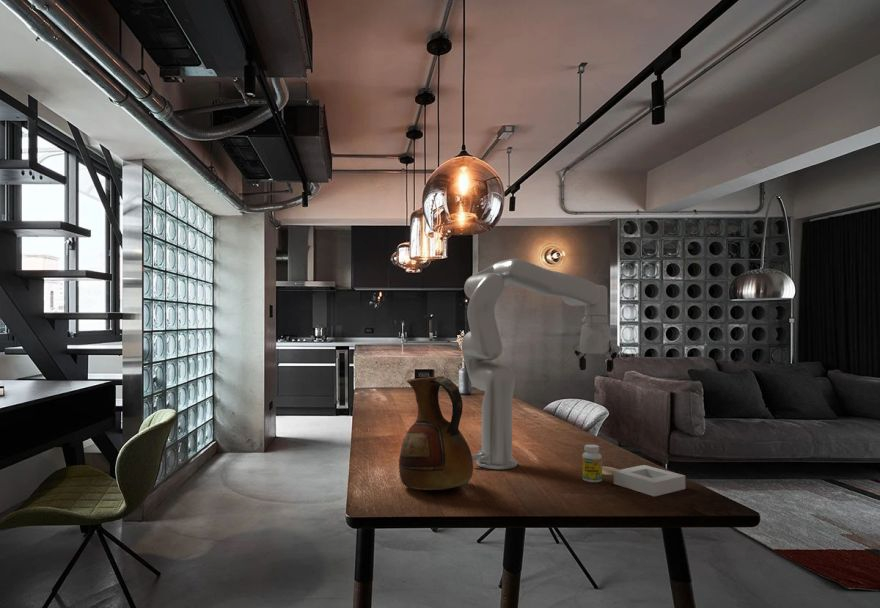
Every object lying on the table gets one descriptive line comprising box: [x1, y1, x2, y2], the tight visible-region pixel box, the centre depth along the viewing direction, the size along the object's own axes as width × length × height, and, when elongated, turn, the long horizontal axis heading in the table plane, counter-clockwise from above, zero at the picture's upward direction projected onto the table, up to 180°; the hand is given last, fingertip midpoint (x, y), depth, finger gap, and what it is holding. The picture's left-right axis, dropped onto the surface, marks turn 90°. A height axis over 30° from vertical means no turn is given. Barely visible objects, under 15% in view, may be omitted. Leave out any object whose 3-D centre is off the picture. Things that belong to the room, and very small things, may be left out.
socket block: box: [613, 464, 686, 497], centre depth 147 cm, size 13×13×4 cm
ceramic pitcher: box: [398, 375, 474, 491], centre depth 144 cm, size 20×20×30 cm
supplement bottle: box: [581, 444, 603, 483], centre depth 152 cm, size 5×5×10 cm
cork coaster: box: [602, 465, 620, 476], centre depth 162 cm, size 9×9×1 cm
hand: (596, 370), depth 185 cm, fingers open, 9 cm apart
